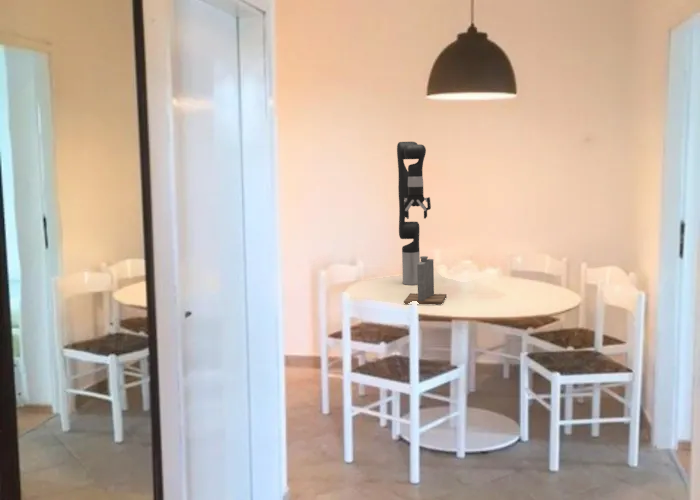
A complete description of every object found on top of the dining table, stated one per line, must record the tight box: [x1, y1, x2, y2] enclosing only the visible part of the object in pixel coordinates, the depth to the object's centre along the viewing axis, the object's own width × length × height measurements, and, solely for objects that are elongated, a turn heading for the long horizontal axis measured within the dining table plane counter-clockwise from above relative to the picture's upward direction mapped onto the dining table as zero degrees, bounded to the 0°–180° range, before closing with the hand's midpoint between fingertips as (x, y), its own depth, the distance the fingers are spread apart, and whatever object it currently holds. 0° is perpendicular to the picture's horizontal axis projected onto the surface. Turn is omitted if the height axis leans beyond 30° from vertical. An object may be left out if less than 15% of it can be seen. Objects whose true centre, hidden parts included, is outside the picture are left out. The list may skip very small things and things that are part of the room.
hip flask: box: [417, 255, 435, 301], centre depth 382 cm, size 16×4×20 cm, turn 154°
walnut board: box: [403, 293, 448, 305], centre depth 384 cm, size 18×18×2 cm
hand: (416, 218), depth 393 cm, fingers open, 8 cm apart
